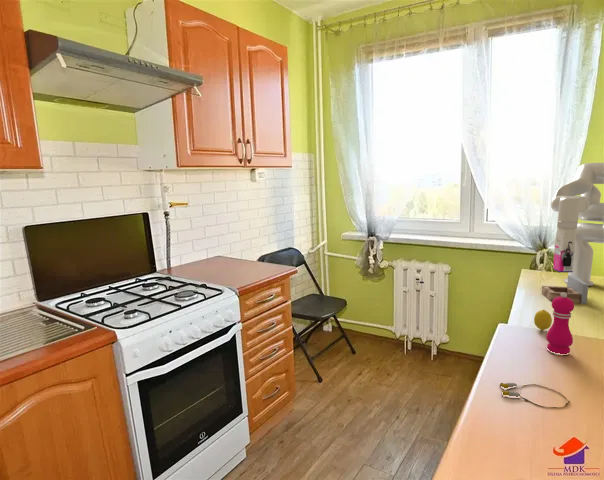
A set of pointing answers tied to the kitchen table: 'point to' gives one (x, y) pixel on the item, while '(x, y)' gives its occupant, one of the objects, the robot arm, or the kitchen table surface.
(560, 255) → the supplement box
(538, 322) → the lemon
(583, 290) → the backstop wall
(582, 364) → the kitchen table surface
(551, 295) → the socket block
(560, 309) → the pepper mill
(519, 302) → the kitchen table surface
